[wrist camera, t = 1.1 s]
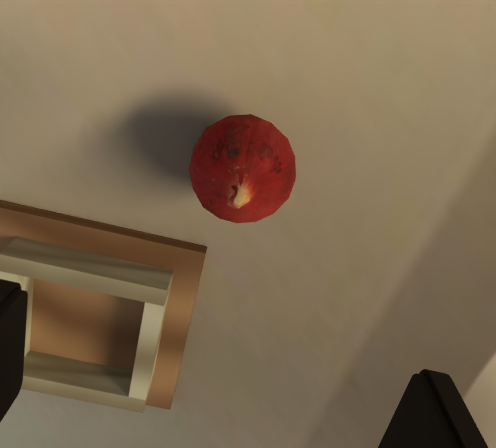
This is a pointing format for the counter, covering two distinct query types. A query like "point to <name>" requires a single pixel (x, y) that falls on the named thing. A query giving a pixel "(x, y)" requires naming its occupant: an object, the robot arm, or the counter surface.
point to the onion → (242, 169)
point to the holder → (100, 306)
